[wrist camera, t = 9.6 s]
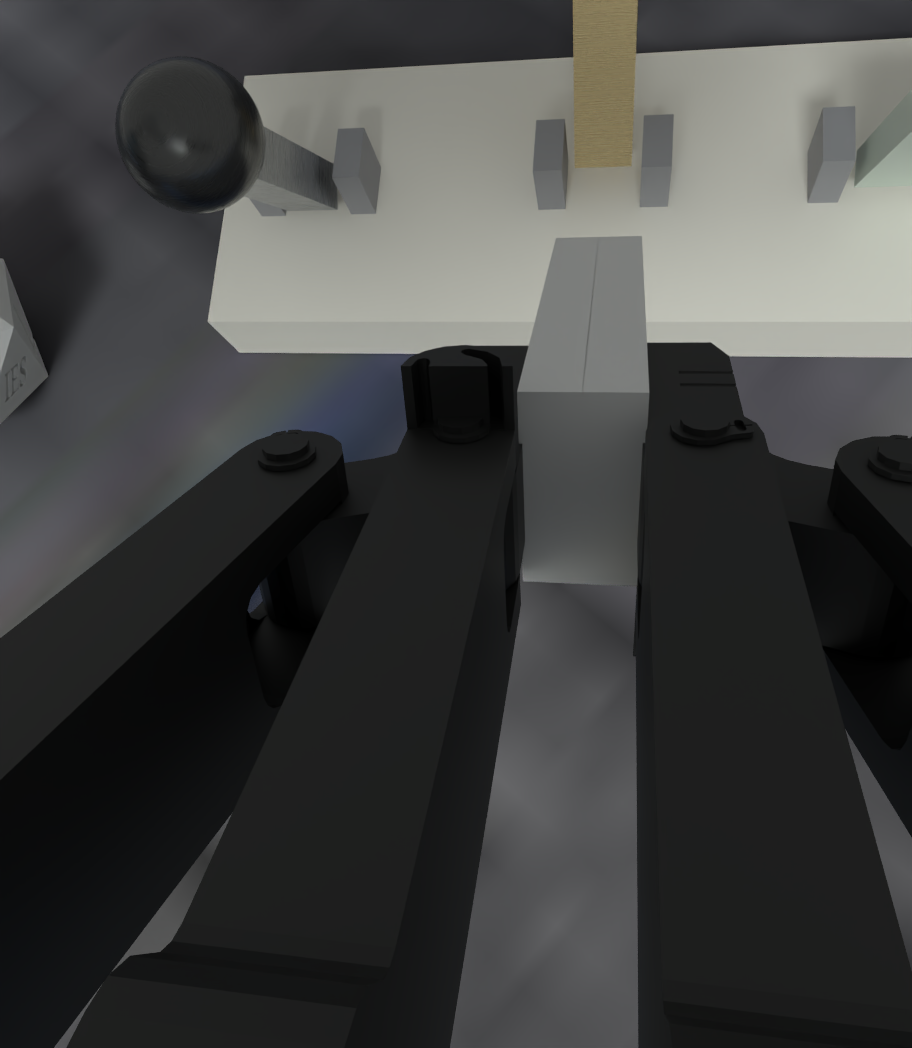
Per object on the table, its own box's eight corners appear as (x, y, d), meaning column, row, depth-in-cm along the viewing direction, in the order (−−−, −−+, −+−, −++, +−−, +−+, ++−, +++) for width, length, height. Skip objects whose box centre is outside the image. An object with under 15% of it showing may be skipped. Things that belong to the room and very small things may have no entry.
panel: (1020, 358, 31) (1101, 286, 26) (239, 352, 37) (178, 292, 32) (1007, 89, 33) (1079, -27, 28) (272, 123, 39) (219, 32, 34)
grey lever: (363, 242, 33) (231, 201, 22) (265, 243, 34) (92, 205, 23) (360, 129, 33) (222, 31, 22) (260, 134, 33) (77, 41, 22)
